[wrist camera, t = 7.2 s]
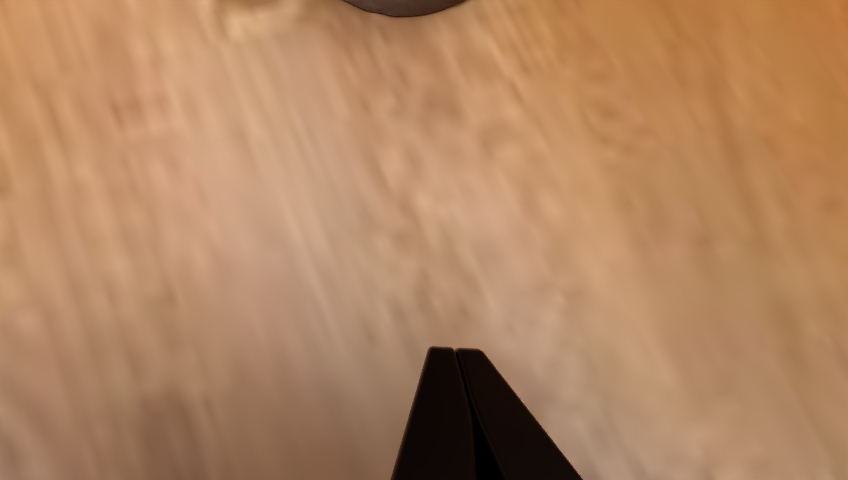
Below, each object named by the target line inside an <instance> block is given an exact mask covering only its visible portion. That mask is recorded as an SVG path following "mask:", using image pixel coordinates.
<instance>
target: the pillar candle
mask: <svg viewBox="0 0 848 480" xmlns="http://www.w3.org/2000/svg"><path fill="white" fill-rule="evenodd" d="M345 1H347V2H349V3H351V4H352V5H355V6H357V7H360V8H361V9H364V10H367V11H371V12H376V13H382V14H383V13H384V14H387V15H393V16H415V15H423V14H428V13H433V12H437V11H439V10H441V9H445V8H448V7H451V6H453V5H455V4H457V3H459V2H461V1H463V0H345Z"/></svg>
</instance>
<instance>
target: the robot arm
mask: <svg viewBox="0 0 848 480" xmlns="http://www.w3.org/2000/svg"><path fill="white" fill-rule="evenodd" d="M391 480H583V479H582V478H581V476H580V475H579V474H578V473H577V471H576V470H575V469H574V467H573V466H572V465H571V464H570V462H569V461H568V460H567V458H566V457H565V456H564V455H563V453H562V452H561V451H560V450H559V448H558V447H557V446H556V444H555V443H554V442H553V441H552V439H551V438H550V437H549V435H548V434H547V433H546V432H545V430H544V429H543V428H542V426H541V425H540V424H539V423H538V421H537V420H536V419H535V418H534V416H533V415H532V414H531V412H530V411H529V410H528V409H527V407H526V406H525V405H524V403H523V402H522V401H521V400H520V398H519V397H518V396H517V395H516V393H515V392H514V391H513V389H512V388H511V387H510V386H509V384H508V383H507V382H506V380H505V379H504V378H503V377H502V375H501V374H500V373H499V372H498V370H497V369H496V368H495V366H494V365H493V364H492V363H491V361H490V360H489V359H488V357H487V356H486V355H485V354H484V352H483V351H481V350H480V349H473V348H457V349H455V350H454V349H453V348H451V347H436V346H432V347H430V348H429V349H428V351H427V355H426V358H425V362H424V365H423V369H422V372H421V376H420V379H419V383H418V386H417V390H416V393H415V397H414V400H413V403H412V407H411V410H410V414H409V417H408V421H407V424H406V428H405V431H404V435H403V438H402V442H401V445H400V449H399V452H398V456H397V459H396V462H395V466H394V469H393V473H392V476H391Z"/></svg>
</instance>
